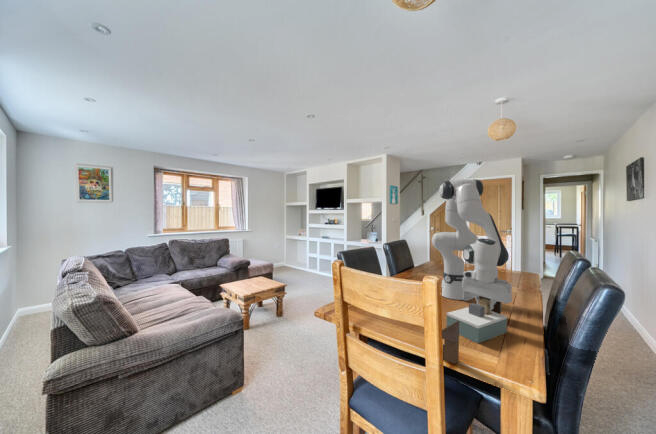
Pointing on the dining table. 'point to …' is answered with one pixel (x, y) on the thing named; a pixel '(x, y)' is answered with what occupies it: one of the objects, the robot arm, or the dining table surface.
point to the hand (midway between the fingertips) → (484, 306)
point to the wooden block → (451, 343)
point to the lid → (476, 316)
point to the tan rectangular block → (485, 305)
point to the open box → (479, 330)
